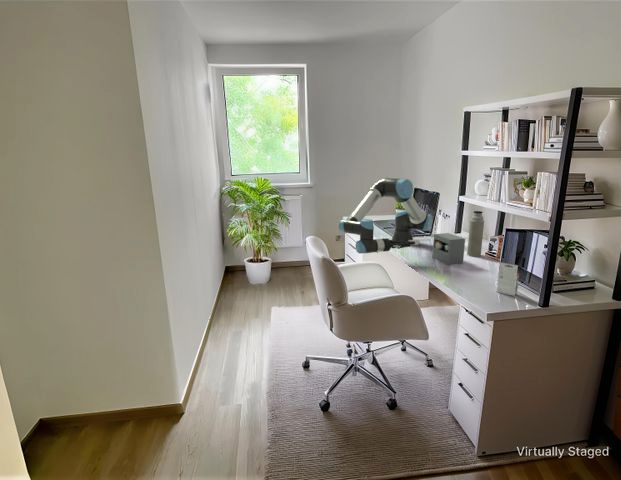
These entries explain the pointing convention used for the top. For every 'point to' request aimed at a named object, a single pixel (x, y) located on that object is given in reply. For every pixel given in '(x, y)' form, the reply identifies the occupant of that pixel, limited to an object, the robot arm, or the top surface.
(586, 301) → the top surface
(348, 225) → the robot arm
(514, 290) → the ink box
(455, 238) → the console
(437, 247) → the grey button
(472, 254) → the thermos bottle
